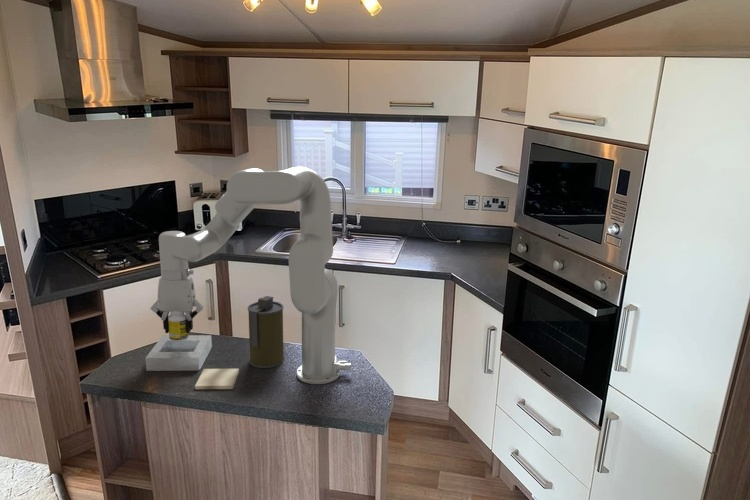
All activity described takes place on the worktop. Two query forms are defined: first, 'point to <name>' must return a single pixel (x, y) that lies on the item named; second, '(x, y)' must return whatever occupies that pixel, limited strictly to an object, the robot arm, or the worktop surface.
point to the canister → (266, 333)
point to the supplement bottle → (177, 326)
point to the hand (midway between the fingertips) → (178, 330)
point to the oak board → (217, 379)
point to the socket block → (179, 354)
